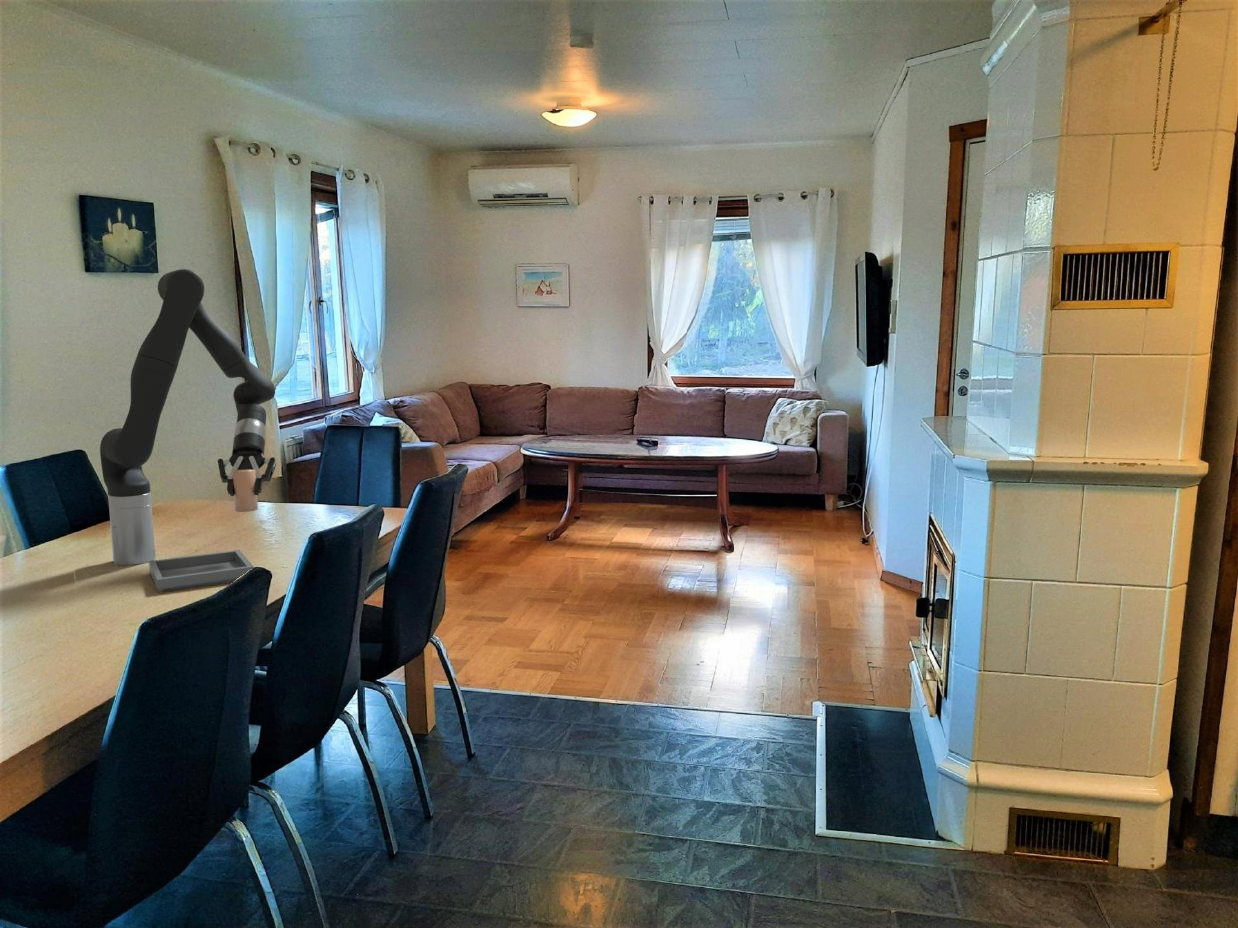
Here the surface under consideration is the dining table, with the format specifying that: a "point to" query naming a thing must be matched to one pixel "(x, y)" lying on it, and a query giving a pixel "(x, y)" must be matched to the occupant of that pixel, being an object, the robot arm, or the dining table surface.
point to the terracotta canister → (244, 490)
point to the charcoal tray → (198, 570)
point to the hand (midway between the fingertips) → (244, 493)
